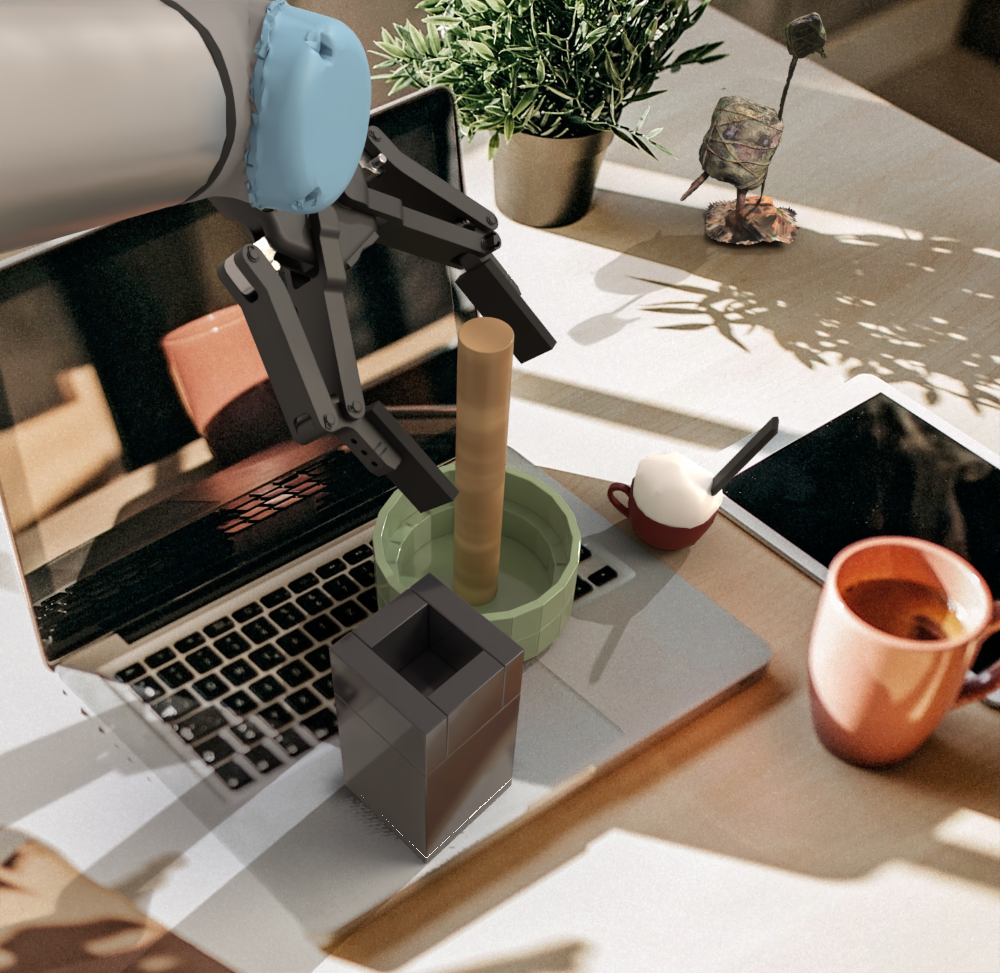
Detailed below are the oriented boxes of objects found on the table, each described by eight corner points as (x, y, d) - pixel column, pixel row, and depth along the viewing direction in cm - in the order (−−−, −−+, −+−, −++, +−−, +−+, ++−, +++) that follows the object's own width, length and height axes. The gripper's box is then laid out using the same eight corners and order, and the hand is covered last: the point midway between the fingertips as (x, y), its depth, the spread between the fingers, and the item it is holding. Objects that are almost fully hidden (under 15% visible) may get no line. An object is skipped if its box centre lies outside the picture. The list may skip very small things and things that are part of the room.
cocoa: (592, 528, 82) (611, 405, 73) (637, 478, 86) (661, 355, 77) (709, 592, 78) (744, 472, 70) (751, 537, 82) (789, 416, 73)
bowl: (475, 714, 71) (478, 659, 67) (336, 593, 77) (330, 535, 73) (612, 595, 78) (622, 538, 74) (474, 492, 84) (476, 433, 79)
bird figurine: (691, 189, 112) (729, -15, 98) (805, 217, 110) (862, 12, 95) (669, 233, 107) (706, 24, 93) (788, 263, 105) (846, 54, 90)
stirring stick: (475, 613, 76) (486, 360, 60) (443, 587, 77) (446, 333, 61) (506, 588, 77) (525, 335, 61) (475, 563, 79) (485, 309, 62)
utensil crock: (426, 865, 64) (424, 735, 54) (344, 784, 68) (328, 647, 57) (511, 784, 68) (525, 649, 58) (430, 712, 71) (429, 571, 61)
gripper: (317, 51, 68) (532, 321, 76) (40, 277, 53) (346, 592, 60) (394, -19, 63) (617, 279, 71) (112, 209, 47) (437, 562, 55)
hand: (493, 423), depth 65 cm, fingers open, 13 cm apart
